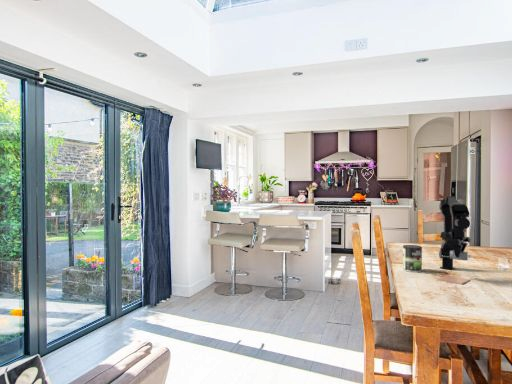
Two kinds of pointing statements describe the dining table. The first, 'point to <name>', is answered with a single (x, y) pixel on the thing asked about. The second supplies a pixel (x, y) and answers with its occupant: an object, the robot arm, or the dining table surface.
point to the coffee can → (412, 258)
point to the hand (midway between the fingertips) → (458, 256)
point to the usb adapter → (460, 256)
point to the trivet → (453, 279)
